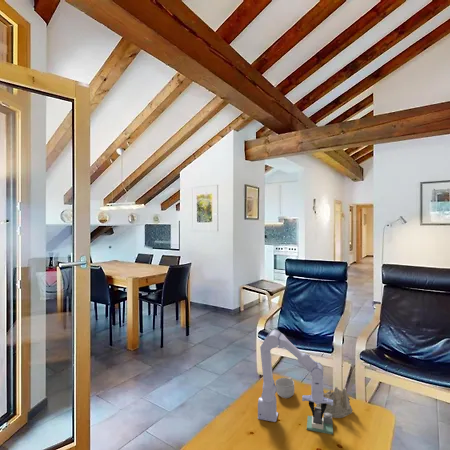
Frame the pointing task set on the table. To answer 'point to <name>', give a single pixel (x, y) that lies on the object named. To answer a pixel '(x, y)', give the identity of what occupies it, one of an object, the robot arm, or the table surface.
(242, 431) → the table surface
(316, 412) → the plug
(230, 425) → the table surface
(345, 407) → the grey jagged lump
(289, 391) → the teacup
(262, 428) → the table surface
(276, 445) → the table surface
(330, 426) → the board
